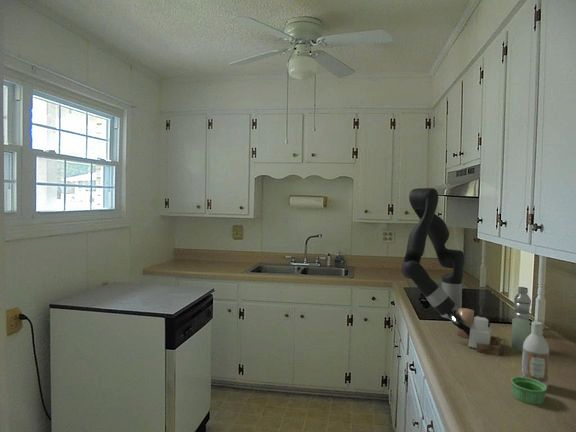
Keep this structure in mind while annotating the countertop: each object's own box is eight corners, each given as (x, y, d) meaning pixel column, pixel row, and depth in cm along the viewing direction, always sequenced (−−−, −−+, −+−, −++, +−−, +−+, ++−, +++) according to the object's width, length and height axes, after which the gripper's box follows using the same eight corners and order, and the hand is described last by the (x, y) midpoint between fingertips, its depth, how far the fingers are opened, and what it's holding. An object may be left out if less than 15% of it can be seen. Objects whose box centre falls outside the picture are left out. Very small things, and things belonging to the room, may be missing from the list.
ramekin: (513, 402, 113) (514, 387, 113) (508, 388, 121) (508, 374, 121) (549, 408, 110) (550, 393, 110) (541, 394, 118) (542, 379, 118)
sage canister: (514, 344, 158) (516, 317, 158) (531, 348, 154) (532, 321, 153) (508, 347, 155) (509, 319, 154) (524, 352, 150) (526, 323, 150)
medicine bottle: (470, 341, 160) (473, 312, 159) (490, 345, 156) (492, 316, 155) (467, 346, 154) (470, 316, 153) (488, 351, 150) (491, 320, 149)
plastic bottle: (514, 334, 169) (516, 288, 168) (511, 329, 176) (513, 285, 175) (531, 336, 167) (533, 290, 166) (527, 331, 174) (529, 287, 173)
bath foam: (523, 388, 121) (526, 324, 120) (519, 378, 128) (522, 318, 127) (549, 392, 119) (553, 327, 118) (544, 382, 125) (547, 320, 124)
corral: (476, 351, 150) (477, 344, 150) (474, 340, 162) (474, 333, 162) (502, 355, 146) (502, 347, 146) (498, 343, 159) (498, 336, 158)
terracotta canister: (462, 332, 172) (463, 307, 171) (475, 336, 167) (476, 310, 166) (454, 334, 168) (455, 309, 168) (468, 339, 163) (469, 312, 163)
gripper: (447, 298, 153) (480, 334, 149) (447, 291, 165) (478, 324, 161) (432, 310, 155) (464, 346, 151) (433, 302, 167) (463, 335, 163)
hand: (471, 335), depth 156 cm, fingers closed
